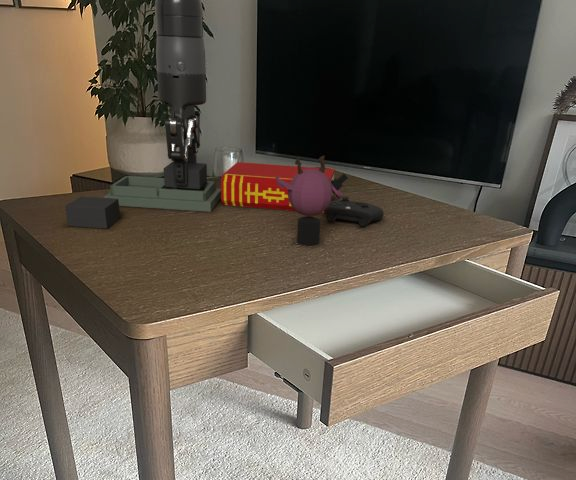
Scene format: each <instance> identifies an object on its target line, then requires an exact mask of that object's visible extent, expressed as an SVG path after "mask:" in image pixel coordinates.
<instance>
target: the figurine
mask: <svg viewBox="0 0 576 480" xmlns="http://www.w3.org/2000/svg"><path fill="white" fill-rule="evenodd" d="M325 157H326V156H325V155H322V156H320V157H319V158H318V159H317V160H318V162H319V163H320V167H319V168H320V169H319V170H316V169H305V170H301V167H302V162H301V160H300V158H301V157H299V156H298V157H297V158H296V160H295V162H294V165H295V166H297V168H298V173H297V174H296V175H295V176H294V178H293V179H292V180H291V182H290V183H287V182H284V181H283V180H281V179H280V178H278V177H277V176H276V178H275V179H276V180H277V181H276V183H277V184H278V185H279V186H280V187H281V188H282V189H283V188H284V187H285V188H287V189H288V198H289V202H290V204H291V206H292V207H293V208H294V209H295V210H296V212H297V213H299V214H300V215H303V216H300V217H299V218H297V229H296V231H297V232H296V243H297V244H298V245H302V246H316V245H318V244H319V243H320V233H321V232H320V231H321V219H320V218H319V217H315V216H317V215H319V214H321V213H322V212H323V211H324V210H325V209H326V208H327V207H328V205H329V203H330V201H332V200H331V198H332V199H333V197H332V192H333V195H335V196H336V197H337V200H341V199H342V197H343V196H344V193H343V192H342V190H341V188H342V187H343V184H344V183H345V182H346V180H348V179H349V177H348V176H347V175H346V174H345V173H342V174H341V175H339V177H338V178H335V177H334V180H332V181H331V182H330V180H329V178H328V177H327V176H326V175H325V174H324V172H325V168H326V167H325V166H326V164H327V162H326V161H325ZM322 214H323V213H322Z"/></svg>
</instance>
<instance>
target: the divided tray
mask: <svg viewBox="0 0 576 480" xmlns="http://www.w3.org/2000/svg"><path fill="white" fill-rule="evenodd" d="M216 182H217V181H216V180H207V182H206V183H205V184H204V185H203V186H202V187H201V188H200V189H189V188H175V187H165V186H164V177H153V176H139V175H138V176H135V175H125V176H123V177H121V178H120V179H119V180H117V181H115V182H114V183H112V184H111V185H109V189H110V190H109V192H108V193H106V194H105V195H104V196H103V198H113V199H118V201H119V207H129V208H130V207H132V208H145V209H160V210H176V211H192V212H193V211H194V212H207V213H208V212H209V213H211V212H212V211H213V209H215V207H216V206H217V205H218V203H219V202H220V201H221V188H217V186H216V185H217V184H216Z"/></svg>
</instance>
